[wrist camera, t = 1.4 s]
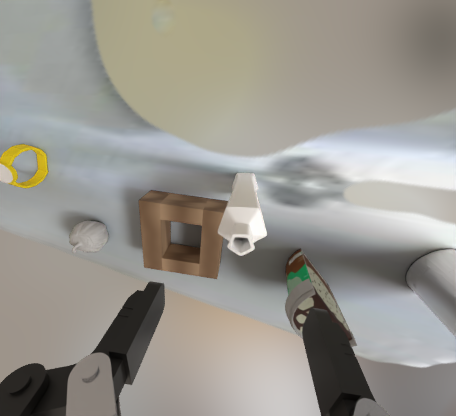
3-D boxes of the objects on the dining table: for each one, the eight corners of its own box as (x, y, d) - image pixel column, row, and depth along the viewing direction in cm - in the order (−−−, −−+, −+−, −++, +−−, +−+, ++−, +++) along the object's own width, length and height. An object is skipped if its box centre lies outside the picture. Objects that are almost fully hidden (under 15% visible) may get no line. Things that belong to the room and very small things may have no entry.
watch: (55, 181, 33) (17, 197, 28) (37, 175, 33) (-3, 191, 28) (49, 145, 30) (7, 156, 25) (31, 139, 30) (-16, 148, 25)
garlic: (95, 246, 38) (73, 265, 33) (76, 222, 36) (50, 238, 31) (121, 236, 36) (101, 255, 31) (102, 211, 34) (78, 226, 30)
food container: (264, 259, 35) (269, 309, 26) (295, 242, 33) (313, 291, 24) (301, 302, 39) (316, 360, 30) (332, 289, 36) (358, 347, 27)
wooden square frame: (227, 201, 31) (224, 213, 27) (220, 262, 36) (216, 279, 33) (151, 190, 32) (138, 200, 28) (154, 252, 37) (144, 267, 33)
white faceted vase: (224, 174, 29) (203, 227, 16) (254, 165, 28) (258, 214, 15) (234, 202, 31) (222, 271, 18) (262, 194, 30) (272, 262, 17)
